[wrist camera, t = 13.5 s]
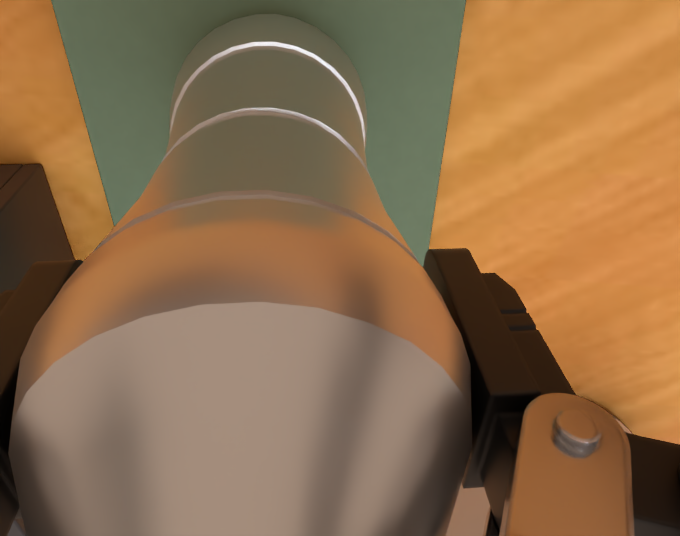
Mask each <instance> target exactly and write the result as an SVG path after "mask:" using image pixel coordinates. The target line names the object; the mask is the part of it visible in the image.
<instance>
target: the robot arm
mask: <svg viewBox="0 0 680 536" xmlns="http://www.w3.org/2000/svg"><path fill="white" fill-rule="evenodd" d="M82 263H83V261H82V260H64V261H37V262H35V263H33V264H32V266H31V267H30V268H29V270H28V271H27V273H26V274H25V276H24V277H23V279H22V280H21V282H20V283H19V285H18V286H17V288H16V289H15V290H5V291H4V292H2V293H1V294H0V536H8V533H9V531H10V528H11V526H12V524H13V521H14V519H23V518H22V514H21V509H20V505H19V500H18V495H17V491H16V486H15V482H14V477H13V473H12V468H11V463H10V459H9V454H8V451H9V442H10V432H11V423H12V415H13V408H14V401H15V393H16V386H17V379H18V371H19V364H20V358H21V356H22V354H23V352H24V350H25V347H26V345H27V343H28V341H29V339H30V336H31V334H32V332H33V330H34V327H35V325H36V324H37V323H38V321H39V320H40V319H41V317H42V316H43V314H44V313H45V312H46V310H47V309H48V308H49V306H50V305H51V303H52V302H53V300H54V299H55V297H56V296H57V294H58V293H59V291H60V290H61V288H62V287H63V285H64V284H65V283H66V281H67V280H68V279H69V278H70V277H71V276H72V274H73V273H74V272H75V271H76V270H77V269H78V267H79V266H80V265H81V264H82ZM423 268H424V270H425V271H426V273H427V274H428V276H429V278H430V279H431V281H432V282H433V284H434V285H435V287H436V288H437V290H438V291H439V293H440V294H441V296H442V298H443V300H444V302H445V304H446V306H447V308H448V310H449V312H450V315H451V316H452V318H453V320H454V322H455V324H456V326H457V328H458V330H459V331H460V333H461V336H462V339H463V342H464V345H465V349H466V352H467V355H468V358H469V361H470V369H471V410H472V450H471V453H470V457H469V460H468V463H467V467H466V470H465V473H464V477H463V480H462V486H463V489H465V488H479V487H484V489H485V492H486V495H487V498H488V501H489V504H490V507H489V510H488V513H487V516H486V521H485V526H484V532H483V536H680V445H678V444H674V443H669V442H665V441H660V440H655V439H651V438H646V437H642V436H637V435H634V434H630V433H627V432H624V430H623V428H622V427H621V425H620V424H619V423H618V422H617V420H616V419H615V418H614V417H613V416H612V415H611V414H609V413H608V412H607V411H606V410H604V409H603V408H602V407H600V406H598V405H597V404H595V403H593V402H591V401H589V400H587V399H585V398H582V397H579V396H576V395H575V393H574V391H573V390H572V388H571V386H570V384H569V383H568V381H567V379H566V377H565V376H564V374H563V372H562V370H561V369H560V367H559V365H558V364H557V362H556V360H555V358H554V357H553V355H552V353H551V351H550V350H549V348H548V346H547V344H546V343H545V341H544V339H543V337H542V336H541V334H540V332H539V330H536V325H535V323H534V322H533V320H532V318H531V317H530V315H529V313H526V308H525V306H524V304H523V303H522V301H521V299H520V297H519V296H518V294H517V292H516V290H515V289H514V288H512V287H511V286H510V285H509V284H508V283H506V282H505V281H504V280H503V279H501V278H500V277H499V276H498V275H497V274H495V273H480V271H479V269H478V267H477V265H476V263H475V261H474V259H473V257H472V255H471V253H470V251H469V250H468V249H466V248H459V249H429V250H427V252H426V254H425V259H424V265H423Z"/></svg>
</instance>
